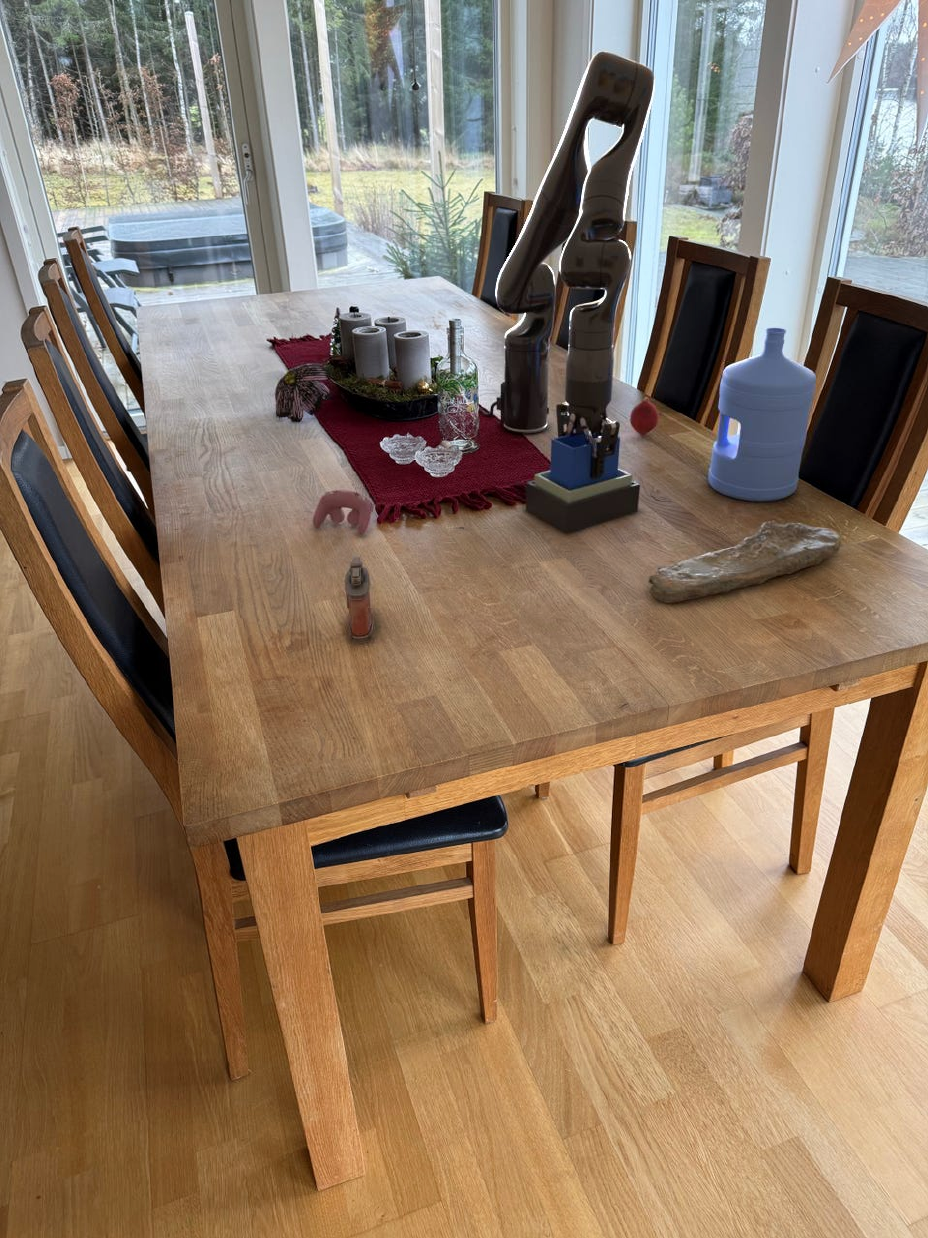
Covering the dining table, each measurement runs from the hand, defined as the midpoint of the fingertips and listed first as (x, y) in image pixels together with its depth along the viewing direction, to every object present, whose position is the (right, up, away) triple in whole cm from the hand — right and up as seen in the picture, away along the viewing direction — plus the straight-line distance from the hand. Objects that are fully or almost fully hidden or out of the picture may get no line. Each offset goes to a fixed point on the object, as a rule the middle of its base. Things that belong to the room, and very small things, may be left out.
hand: (584, 471), depth 152 cm
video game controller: (-41, -9, +1) cm, 42 cm away
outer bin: (0, -6, +4) cm, 7 cm away
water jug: (+32, -1, +12) cm, 34 cm away
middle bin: (0, -6, +4) cm, 7 cm away
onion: (+17, +13, +36) cm, 42 cm away
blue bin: (0, -1, +1) cm, 1 cm away
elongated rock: (+22, -18, -16) cm, 33 cm away
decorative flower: (-57, +22, +52) cm, 80 cm away
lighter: (-35, -26, -28) cm, 52 cm away
